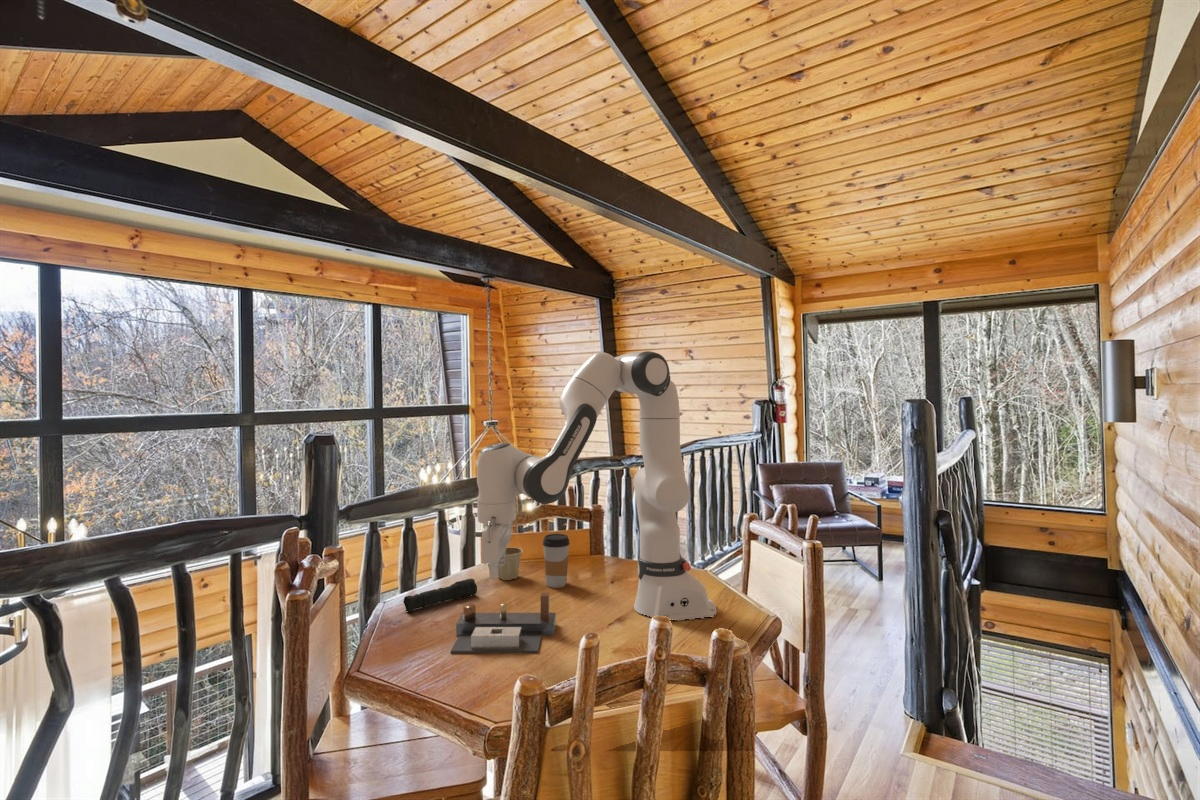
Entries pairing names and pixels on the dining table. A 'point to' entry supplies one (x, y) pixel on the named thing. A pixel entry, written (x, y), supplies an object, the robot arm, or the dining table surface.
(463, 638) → the rubber mat
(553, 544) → the coffee cup
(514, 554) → the flower pot
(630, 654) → the dining table surface
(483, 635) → the whitish rectangular block
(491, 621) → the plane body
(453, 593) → the flashlight
